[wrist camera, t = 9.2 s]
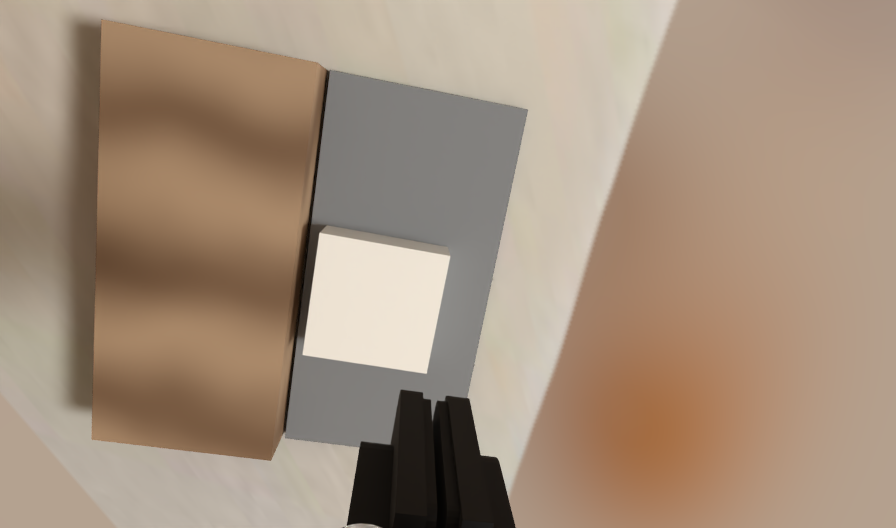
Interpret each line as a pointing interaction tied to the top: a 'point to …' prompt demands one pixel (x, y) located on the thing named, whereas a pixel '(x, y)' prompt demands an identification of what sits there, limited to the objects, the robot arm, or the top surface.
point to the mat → (406, 236)
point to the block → (375, 299)
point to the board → (199, 239)
